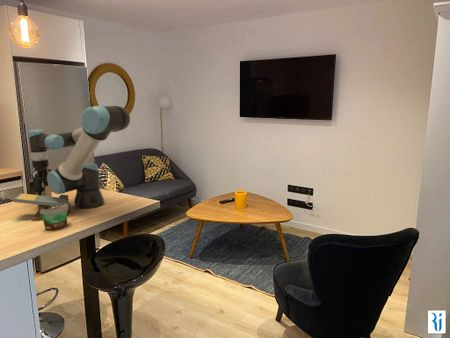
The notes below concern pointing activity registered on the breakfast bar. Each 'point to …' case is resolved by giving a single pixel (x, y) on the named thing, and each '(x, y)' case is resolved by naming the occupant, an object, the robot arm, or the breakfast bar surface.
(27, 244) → the breakfast bar surface
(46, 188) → the wooden block
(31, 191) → the phone stand
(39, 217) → the beam stand
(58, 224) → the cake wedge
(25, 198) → the beam
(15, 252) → the breakfast bar surface
